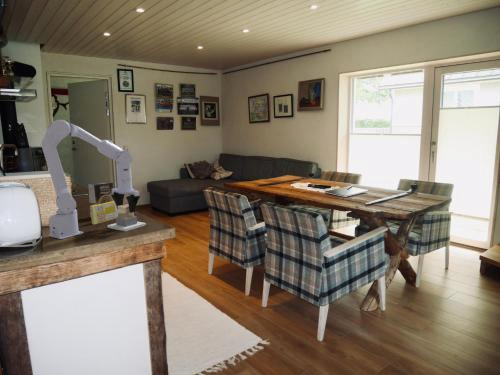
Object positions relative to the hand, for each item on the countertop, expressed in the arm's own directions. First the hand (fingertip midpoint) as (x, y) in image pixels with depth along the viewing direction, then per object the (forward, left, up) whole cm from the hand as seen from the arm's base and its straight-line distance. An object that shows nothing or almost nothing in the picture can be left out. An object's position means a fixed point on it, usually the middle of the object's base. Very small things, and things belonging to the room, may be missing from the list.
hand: (126, 211), depth 150 cm
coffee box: (+6, +24, -7) cm, 26 cm away
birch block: (0, 0, -3) cm, 3 cm away
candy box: (+3, +16, -7) cm, 18 cm away
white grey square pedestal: (0, 0, -7) cm, 7 cm away
